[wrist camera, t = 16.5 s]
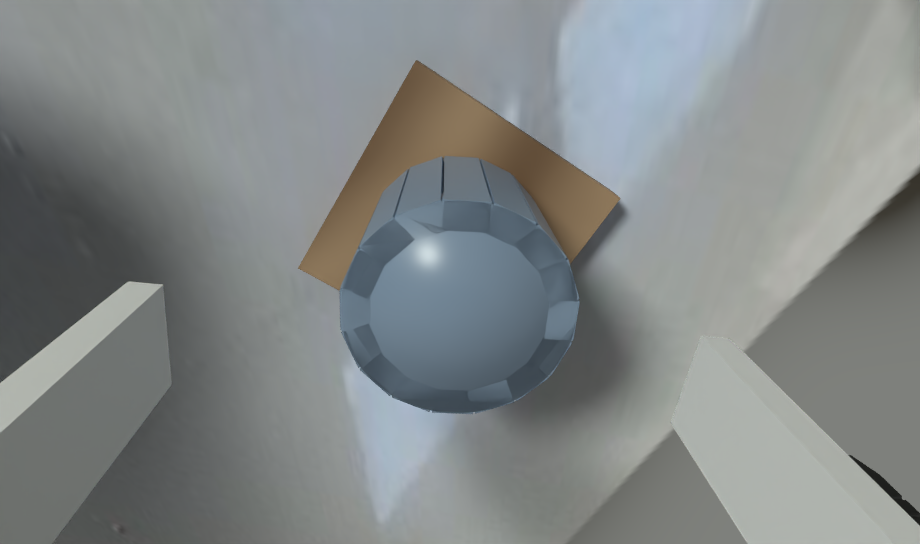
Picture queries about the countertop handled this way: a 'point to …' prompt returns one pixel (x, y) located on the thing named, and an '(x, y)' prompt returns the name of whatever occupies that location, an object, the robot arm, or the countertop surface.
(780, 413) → the robot arm
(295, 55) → the countertop surface
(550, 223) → the wooden square stand
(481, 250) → the cap
